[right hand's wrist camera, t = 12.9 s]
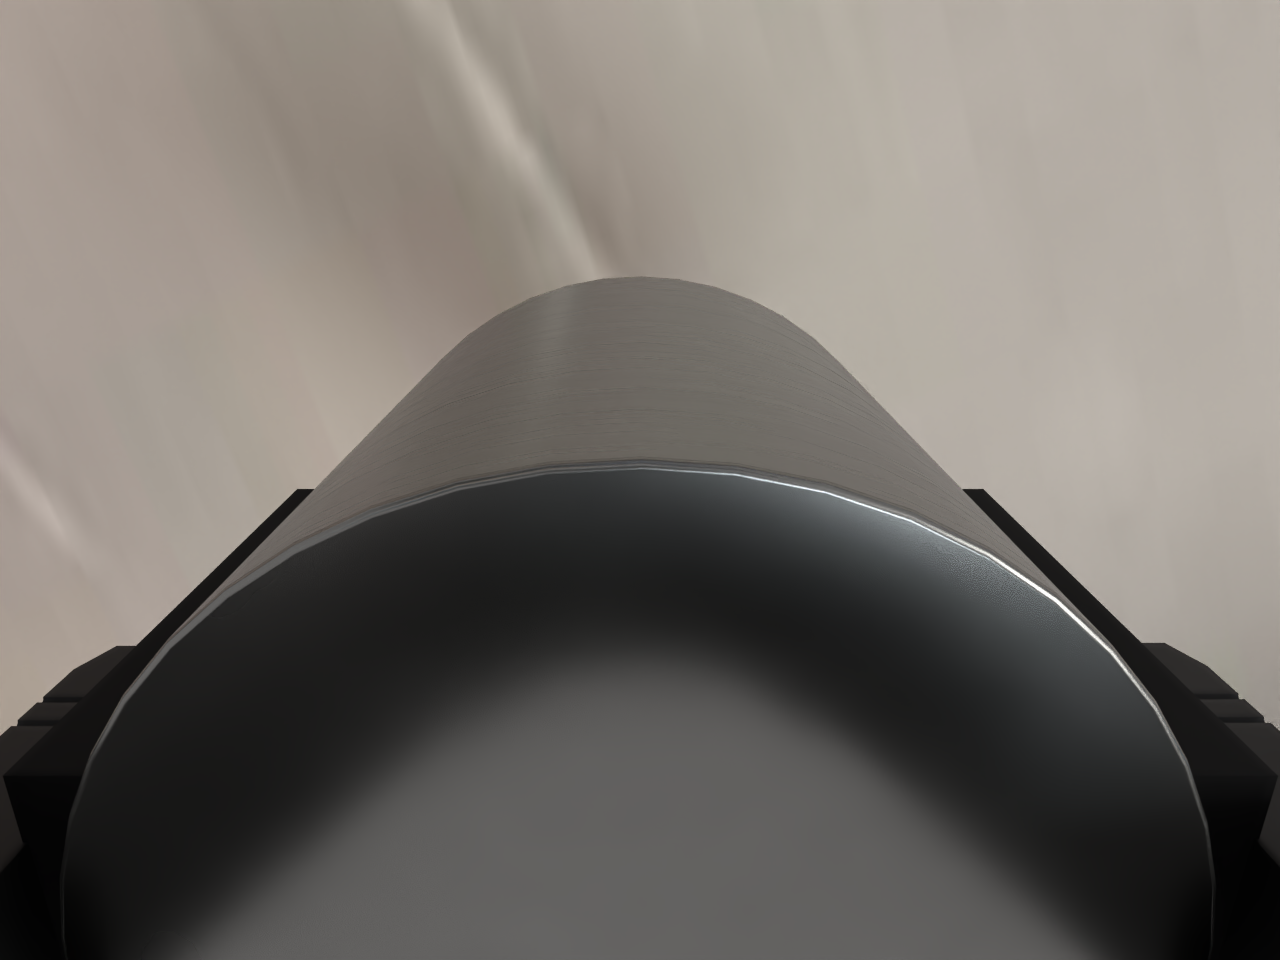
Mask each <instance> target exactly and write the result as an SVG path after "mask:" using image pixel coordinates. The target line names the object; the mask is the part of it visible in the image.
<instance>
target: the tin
mask: <svg viewBox="0 0 1280 960" xmlns="http://www.w3.org/2000/svg"><path fill="white" fill-rule="evenodd" d="M59 881H60V919H61V939H62V944H63V949H64V954H65V959H66V960H1210V958H1211V954H1212V949H1213V945H1214V927H1215V904H1216V879H1215V872H1214V864H1213V857H1212V850H1211V842H1210V835H1209V828H1208V822H1207V818H1206V815H1205V812H1204V809H1203V806H1202V803H1201V800H1200V797H1199V794H1198V791H1197V788H1196V785H1195V782H1194V779H1193V775H1192V772H1191V769H1190V766H1189V763H1188V760H1187V758H1186V756H1185V755H1184V753H1183V751H1182V749H1181V747H1180V745H1179V743H1178V741H1177V740H1176V738H1175V736H1174V734H1173V732H1172V730H1171V728H1170V726H1169V725H1168V723H1167V721H1166V719H1165V717H1164V715H1163V713H1162V712H1161V710H1160V708H1159V706H1158V704H1157V702H1156V701H1155V699H1154V698H1153V697H1152V695H1151V694H1150V693H1149V692H1148V690H1147V689H1146V688H1145V686H1144V685H1143V684H1142V683H1141V681H1140V680H1139V679H1138V677H1137V676H1136V675H1135V674H1134V672H1133V671H1132V670H1131V668H1130V667H1129V666H1128V665H1127V663H1126V662H1125V661H1124V659H1123V658H1122V657H1121V656H1120V654H1119V653H1118V652H1117V650H1116V649H1115V648H1114V647H1113V645H1112V644H1111V643H1110V642H1109V641H1108V640H1107V639H1106V638H1105V637H1104V636H1103V635H1102V634H1101V633H1100V632H1099V631H1098V630H1097V629H1096V628H1095V627H1094V626H1093V625H1092V623H1091V622H1090V621H1089V620H1088V619H1087V618H1086V617H1085V616H1084V615H1083V614H1082V613H1081V612H1080V611H1079V610H1078V609H1077V608H1076V607H1075V606H1074V605H1073V604H1072V603H1071V602H1070V601H1069V600H1068V599H1067V598H1066V597H1065V596H1064V594H1063V593H1062V592H1061V591H1060V590H1059V589H1058V588H1057V587H1056V586H1055V585H1054V584H1053V583H1052V582H1051V581H1050V580H1049V579H1048V578H1047V577H1046V576H1045V575H1044V574H1043V573H1042V572H1041V571H1040V570H1039V569H1038V568H1037V567H1036V565H1035V564H1034V563H1033V562H1032V561H1031V560H1030V559H1029V558H1028V557H1027V556H1026V555H1025V554H1024V553H1023V552H1022V551H1021V550H1020V549H1019V548H1018V547H1017V546H1016V545H1015V544H1014V543H1013V542H1012V541H1011V540H1010V539H1009V538H1008V536H1007V535H1006V534H1005V533H1004V532H1003V531H1002V530H1001V529H1000V528H999V527H998V526H997V525H996V524H995V523H994V522H993V521H992V520H991V519H990V518H989V517H988V516H987V515H986V514H985V513H984V512H983V511H982V510H981V509H980V507H979V506H978V505H977V504H976V503H975V502H974V501H973V500H972V499H971V498H970V497H969V496H968V495H967V494H966V493H965V492H964V491H963V490H962V489H961V488H960V487H959V486H958V485H957V484H956V483H955V482H954V481H953V480H952V478H951V477H950V476H949V475H948V474H947V473H946V472H945V471H944V470H943V469H942V468H941V467H940V466H939V465H938V464H937V463H936V462H935V461H934V460H933V459H932V458H931V457H930V456H929V455H928V454H927V453H926V452H925V451H924V449H923V448H922V447H921V446H920V445H919V444H918V443H917V442H916V441H915V440H914V439H913V438H912V437H911V436H910V435H909V434H908V433H907V432H906V431H905V430H904V429H903V428H902V427H901V426H900V425H899V424H898V423H897V422H896V420H895V419H894V418H893V417H892V416H891V415H890V414H889V413H888V412H887V411H886V410H885V409H884V408H883V407H882V406H881V405H880V404H879V403H878V402H877V401H876V400H875V399H874V398H873V397H872V396H871V395H870V394H869V393H868V391H867V390H866V389H865V388H864V387H863V386H862V385H861V384H860V383H859V382H858V381H857V380H856V379H855V378H854V377H853V376H852V375H851V374H850V373H849V372H848V371H847V370H846V369H845V368H844V367H843V366H842V365H841V364H840V362H839V361H837V360H836V359H835V358H834V357H833V356H832V355H831V354H830V353H829V352H828V351H827V350H826V349H825V348H824V347H823V346H822V345H821V344H819V343H818V342H817V341H816V340H815V339H814V338H813V337H812V336H810V335H809V334H807V333H806V332H805V331H803V330H802V329H800V328H799V327H798V326H796V325H795V324H793V323H792V322H791V321H789V320H788V319H786V318H785V317H783V316H782V315H780V314H778V313H776V312H774V311H772V310H770V309H768V308H766V307H764V306H762V305H760V304H758V303H756V302H754V301H753V300H751V299H748V298H745V297H742V296H739V295H737V294H734V293H731V292H728V291H725V290H722V289H720V288H717V287H713V286H708V285H703V284H699V283H694V282H689V281H684V280H680V279H668V278H654V277H624V278H608V279H599V280H594V281H589V282H584V283H579V284H574V285H569V286H565V287H562V288H559V289H556V290H553V291H550V292H547V293H544V294H541V295H538V296H535V297H532V298H530V299H528V300H526V301H524V302H522V303H520V304H518V305H516V306H514V307H512V308H510V309H508V310H506V311H504V312H502V313H500V314H498V315H496V316H495V317H494V318H492V319H491V320H489V321H488V322H486V323H485V324H483V325H482V326H480V327H479V328H477V329H476V330H475V331H473V332H472V333H470V334H469V335H468V336H466V337H465V338H464V339H463V340H462V341H461V342H460V343H459V344H458V345H457V346H455V347H454V348H453V349H452V350H451V351H450V352H449V353H448V354H447V355H446V356H445V357H443V358H442V359H441V360H440V361H439V362H438V363H437V364H436V365H435V366H434V367H433V369H432V370H431V371H430V372H429V373H428V374H427V375H426V376H425V377H424V378H423V379H422V380H421V381H420V382H419V383H418V384H417V385H416V386H415V387H414V388H413V389H412V390H411V391H410V392H409V393H408V394H407V395H406V396H405V397H404V398H403V399H402V400H401V401H400V402H399V403H398V404H397V405H396V406H395V407H394V408H393V409H392V410H391V411H390V412H389V414H388V415H387V416H386V417H385V418H384V419H383V420H382V421H381V422H380V423H379V424H378V425H377V426H376V427H375V428H374V429H373V430H372V431H371V432H370V433H369V434H368V435H367V436H366V437H365V438H364V439H363V440H362V441H361V442H360V443H359V444H358V445H357V446H356V447H355V448H354V449H353V450H352V451H351V452H350V453H349V454H348V455H347V456H346V457H345V459H344V460H343V461H342V462H341V463H340V464H339V465H338V466H337V467H336V468H335V469H334V470H333V471H332V472H331V473H330V474H329V475H328V476H327V477H326V478H325V479H324V480H323V481H322V482H321V483H320V484H319V485H318V486H317V487H316V488H315V489H314V490H313V491H312V492H311V493H310V494H309V495H308V496H307V497H306V498H305V499H304V500H303V501H302V502H301V504H300V505H299V506H298V507H297V508H296V509H295V510H294V511H293V512H292V513H291V514H290V515H289V516H288V517H287V518H286V519H285V520H284V521H283V522H282V523H281V524H280V525H279V526H278V527H277V528H276V529H275V530H274V531H273V532H272V533H271V534H270V535H269V536H268V537H267V538H266V539H265V540H264V541H263V542H262V543H261V544H260V545H259V546H258V547H257V549H256V550H255V551H254V552H253V553H252V554H251V555H250V556H249V557H248V558H247V559H246V560H245V561H244V562H243V563H242V564H241V565H240V566H239V567H238V568H237V569H236V570H235V571H234V572H233V573H232V574H231V575H230V576H229V577H228V578H227V579H226V580H225V581H224V582H223V583H222V584H221V585H220V586H219V587H218V588H217V589H216V590H215V591H214V592H213V594H212V595H211V596H210V597H209V598H208V599H207V600H206V601H205V602H204V603H203V604H202V605H201V606H200V607H199V608H198V609H197V610H196V611H195V612H194V613H193V614H192V615H191V616H190V617H189V618H188V619H187V620H186V621H185V622H184V623H183V624H182V625H181V626H180V627H179V628H178V629H177V630H176V631H175V632H174V633H173V634H172V635H171V636H170V637H169V638H168V640H167V641H166V642H165V643H164V645H163V646H162V647H161V648H160V650H159V651H158V652H157V653H156V655H155V656H154V657H153V658H152V660H151V661H150V662H149V663H148V665H147V666H146V667H145V668H144V669H143V671H142V672H141V673H140V674H139V676H138V677H137V678H136V679H135V681H134V682H133V683H132V684H131V686H130V687H129V688H128V689H127V691H126V692H125V693H124V694H123V696H122V698H121V700H120V701H119V703H118V705H117V707H116V709H115V710H114V712H113V714H112V716H111V718H110V719H109V721H108V723H107V725H106V726H105V728H104V730H103V732H102V734H101V735H100V737H99V739H98V741H97V743H96V744H95V746H94V748H93V750H92V752H91V753H90V756H89V759H88V762H87V765H86V768H85V771H84V774H83V777H82V779H81V782H80V785H79V788H78V791H77V794H76V797H75V800H74V803H73V806H72V808H71V811H70V815H69V819H68V826H67V832H66V839H65V845H64V852H63V858H62V865H61V871H60V878H59Z"/></svg>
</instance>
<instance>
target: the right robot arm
mask: <svg viewBox="0 0 1280 960" xmlns="http://www.w3.org/2000/svg"><path fill="white" fill-rule="evenodd" d="M313 490H314V489H297V490H296V491H295V492H294V493H293V494H292V495H291V496H290V497H289V498H288V499H287V500H286V501H285V502H284V503H283V504H282V505H281V506H280V507H278V508H277V509H276V510H275V511H274V512H273V513H272V514H271V515H270V516H269V517H268V518H267V519H266V520H265V521H264V522H263V523H262V524H261V525H260V526H259V527H258V528H257V529H256V530H255V531H254V532H253V533H252V534H251V535H250V536H249V537H248V538H247V539H246V540H245V541H244V542H242V543H241V544H240V545H239V546H238V547H237V548H236V549H235V550H234V551H233V552H232V553H231V554H230V555H229V556H228V557H227V558H226V559H225V560H224V561H223V562H222V563H221V564H220V565H219V566H218V567H217V568H216V569H215V570H214V571H213V572H212V573H211V574H210V575H209V576H208V577H206V578H205V579H204V580H203V581H202V582H201V583H200V584H199V585H198V586H197V587H196V588H195V589H194V590H193V591H192V592H191V593H190V594H189V595H188V596H187V597H186V598H185V599H184V600H183V601H182V602H181V603H180V604H179V605H178V606H177V607H176V608H175V609H174V610H173V611H172V612H170V613H169V614H168V615H167V616H166V617H165V618H164V619H163V620H162V621H161V622H160V623H159V624H158V625H157V626H156V627H155V628H154V629H153V630H152V631H151V632H150V633H149V634H148V635H147V636H146V637H145V638H144V639H143V640H142V641H141V642H140V643H139V644H138V645H137V646H116V647H114V648H112V649H110V650H109V651H107V652H105V653H103V654H101V655H99V656H98V657H96V658H94V659H92V660H90V661H88V662H87V663H85V664H83V665H81V666H79V667H77V668H75V669H74V670H73V671H72V672H70V673H69V674H68V675H67V676H66V677H65V678H64V679H63V680H62V681H60V682H59V683H58V684H57V685H56V686H55V687H54V688H53V689H52V690H51V691H49V692H48V693H47V694H46V695H45V696H44V697H43V702H42V703H36V704H35V705H34V706H33V707H32V708H31V709H30V710H28V711H27V712H26V713H25V714H24V715H23V716H22V717H21V718H20V719H19V720H18V724H17V726H11V727H10V728H9V729H8V730H6V731H5V732H4V733H3V734H2V735H1V736H0V960H66V959H65V954H64V949H63V944H62V939H61V919H60V881H59V878H60V871H61V865H62V858H63V852H64V845H65V839H66V832H67V826H68V819H69V815H70V811H71V808H72V806H73V803H74V800H75V797H76V794H77V791H78V788H79V785H80V782H81V779H82V777H83V774H84V771H85V768H86V765H87V762H88V759H89V756H90V753H91V752H92V750H93V748H94V746H95V744H96V743H97V741H98V739H99V737H100V735H101V734H102V732H103V730H104V728H105V726H106V725H107V723H108V721H109V719H110V718H111V716H112V714H113V712H114V710H115V709H116V707H117V705H118V703H119V701H120V700H121V698H122V696H123V694H124V693H125V692H126V691H127V689H128V688H129V687H130V686H131V684H132V683H133V682H134V681H135V679H136V678H137V677H138V676H139V674H140V673H141V672H142V671H143V669H144V668H145V667H146V666H147V665H148V663H149V662H150V661H151V660H152V658H153V657H154V656H155V655H156V653H157V652H158V651H159V650H160V648H161V647H162V646H163V645H164V643H165V642H166V641H167V640H168V638H169V637H170V636H171V635H172V634H173V633H174V632H175V631H176V630H177V629H178V628H179V627H180V626H181V625H182V624H183V623H184V622H185V621H186V620H187V619H188V618H189V617H190V616H191V615H192V614H193V613H194V612H195V611H196V610H197V609H198V608H199V607H200V606H201V605H202V604H203V603H204V602H205V601H206V600H207V599H208V598H209V597H210V596H211V595H212V594H213V592H214V591H215V590H216V589H217V588H218V587H219V586H220V585H221V584H222V583H223V582H224V581H225V580H226V579H227V578H228V577H229V576H230V575H231V574H232V573H233V572H234V571H235V570H236V569H237V568H238V567H239V566H240V565H241V564H242V563H243V562H244V561H245V560H246V559H247V558H248V557H249V556H250V555H251V554H252V553H253V552H254V551H255V550H256V549H257V547H258V546H259V545H260V544H261V543H262V542H263V541H264V540H265V539H266V538H267V537H268V536H269V535H270V534H271V533H272V532H273V531H274V530H275V529H276V528H277V527H278V526H279V525H280V524H281V523H282V522H283V521H284V520H285V519H286V518H287V517H288V516H289V515H290V514H291V513H292V512H293V511H294V510H295V509H296V508H297V507H298V506H299V505H300V504H301V502H302V501H303V500H304V499H305V498H306V497H307V496H308V495H309V494H310V493H311V492H312V491H313ZM962 490H963V491H964V492H965V493H966V494H967V495H968V496H969V497H970V498H971V499H972V500H973V501H974V502H975V503H976V504H977V505H978V506H979V507H980V509H981V510H982V511H983V512H984V513H985V514H986V515H987V516H988V517H989V518H990V519H991V520H992V521H993V522H994V523H995V524H996V525H997V526H998V527H999V528H1000V529H1001V530H1002V531H1003V532H1004V533H1005V534H1006V535H1007V536H1008V538H1009V539H1010V540H1011V541H1012V542H1013V543H1014V544H1015V545H1016V546H1017V547H1018V548H1019V549H1020V550H1021V551H1022V552H1023V553H1024V554H1025V555H1026V556H1027V557H1028V558H1029V559H1030V560H1031V561H1032V562H1033V563H1034V564H1035V565H1036V567H1037V568H1038V569H1039V570H1040V571H1041V572H1042V573H1043V574H1044V575H1045V576H1046V577H1047V578H1048V579H1049V580H1050V581H1051V582H1052V583H1053V584H1054V585H1055V586H1056V587H1057V588H1058V589H1059V590H1060V591H1061V592H1062V593H1063V594H1064V596H1065V597H1066V598H1067V599H1068V600H1069V601H1070V602H1071V603H1072V604H1073V605H1074V606H1075V607H1076V608H1077V609H1078V610H1079V611H1080V612H1081V613H1082V614H1083V615H1084V616H1085V617H1086V618H1087V619H1088V620H1089V621H1090V622H1091V623H1092V625H1093V626H1094V627H1095V628H1096V629H1097V630H1098V631H1099V632H1100V633H1101V634H1102V635H1103V636H1104V637H1105V638H1106V639H1107V640H1108V641H1109V642H1110V643H1111V644H1112V645H1113V647H1114V648H1115V649H1116V650H1117V652H1118V653H1119V654H1120V656H1121V657H1122V658H1123V659H1124V661H1125V662H1126V663H1127V665H1128V666H1129V667H1130V668H1131V670H1132V671H1133V672H1134V674H1135V675H1136V676H1137V677H1138V679H1139V680H1140V681H1141V683H1142V684H1143V685H1144V686H1145V688H1146V689H1147V690H1148V692H1149V693H1150V694H1151V695H1152V697H1153V698H1154V699H1155V701H1156V702H1157V704H1158V706H1159V708H1160V710H1161V712H1162V713H1163V715H1164V717H1165V719H1166V721H1167V723H1168V725H1169V726H1170V728H1171V730H1172V732H1173V734H1174V736H1175V738H1176V740H1177V741H1178V743H1179V745H1180V747H1181V749H1182V751H1183V753H1184V755H1185V756H1186V758H1187V760H1188V763H1189V766H1190V769H1191V772H1192V775H1193V779H1194V782H1195V785H1196V788H1197V791H1198V794H1199V797H1200V800H1201V803H1202V806H1203V809H1204V812H1205V815H1206V818H1207V822H1208V828H1209V835H1210V842H1211V850H1212V857H1213V864H1214V872H1215V879H1216V904H1215V927H1214V945H1213V949H1212V954H1211V958H1210V960H1280V731H1279V730H1278V729H1277V728H1276V727H1275V726H1273V725H1272V724H1271V723H1265V722H1264V717H1263V716H1262V715H1261V714H1260V713H1259V712H1258V711H1257V710H1256V709H1255V708H1253V707H1252V706H1251V705H1250V704H1249V703H1248V702H1247V701H1246V700H1245V699H1239V697H1238V693H1237V692H1236V691H1235V690H1233V689H1232V688H1231V687H1230V686H1229V685H1228V684H1227V683H1226V682H1225V681H1223V680H1222V679H1221V678H1220V677H1219V676H1218V675H1217V674H1216V673H1215V672H1213V671H1212V670H1211V669H1210V668H1209V667H1208V666H1206V665H1204V664H1202V663H1201V662H1199V661H1197V660H1195V659H1193V658H1191V657H1189V656H1188V655H1186V654H1184V653H1182V652H1180V651H1178V650H1177V649H1175V648H1173V647H1171V646H1169V645H1167V644H1165V643H1141V642H1140V641H1139V640H1138V639H1137V638H1136V637H1135V636H1134V635H1133V634H1132V633H1131V632H1130V631H1129V630H1128V629H1127V628H1126V627H1125V626H1124V625H1123V624H1121V623H1120V622H1119V621H1118V620H1117V619H1116V618H1115V617H1114V616H1113V615H1112V614H1111V613H1110V612H1109V611H1108V610H1107V609H1106V608H1105V607H1104V606H1103V605H1102V604H1101V603H1100V602H1099V601H1098V600H1097V599H1096V598H1095V597H1094V596H1093V595H1092V594H1091V593H1090V592H1089V591H1088V590H1086V589H1085V588H1084V587H1083V586H1082V585H1081V584H1080V583H1079V582H1078V581H1077V580H1076V579H1075V578H1074V577H1073V576H1072V575H1071V574H1070V573H1069V572H1068V571H1067V570H1066V569H1065V568H1064V567H1063V566H1062V565H1061V564H1060V563H1059V562H1058V561H1057V560H1056V559H1055V558H1054V557H1053V556H1052V555H1050V554H1049V553H1048V552H1047V551H1046V550H1045V549H1044V548H1043V547H1042V546H1041V545H1040V544H1039V543H1038V542H1037V541H1036V540H1035V539H1034V538H1033V537H1032V536H1031V535H1030V534H1029V533H1028V532H1027V531H1026V530H1025V529H1024V528H1023V527H1022V526H1021V525H1020V524H1019V523H1018V522H1017V521H1016V520H1014V519H1013V518H1012V517H1011V516H1010V515H1009V514H1008V513H1007V512H1006V511H1005V510H1004V509H1003V508H1002V507H1001V506H1000V505H999V504H998V503H997V502H996V501H995V500H994V499H993V498H992V497H991V496H990V495H989V494H988V493H987V492H986V491H985V490H984V489H962Z"/></svg>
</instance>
